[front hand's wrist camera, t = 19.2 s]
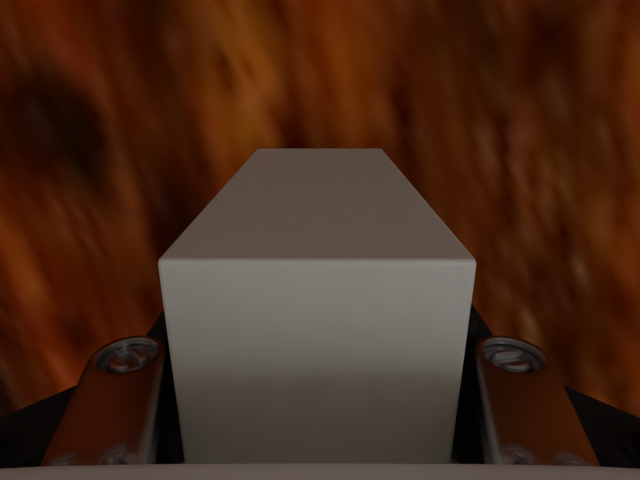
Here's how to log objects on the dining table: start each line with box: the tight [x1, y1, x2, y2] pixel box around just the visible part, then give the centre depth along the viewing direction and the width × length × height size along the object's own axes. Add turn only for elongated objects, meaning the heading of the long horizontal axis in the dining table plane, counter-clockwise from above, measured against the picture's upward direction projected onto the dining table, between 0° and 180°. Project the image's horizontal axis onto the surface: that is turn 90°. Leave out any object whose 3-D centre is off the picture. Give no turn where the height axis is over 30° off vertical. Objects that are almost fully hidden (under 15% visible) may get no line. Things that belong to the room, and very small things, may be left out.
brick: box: [158, 149, 476, 464], centre depth 12 cm, size 4×7×10 cm, turn 0°
